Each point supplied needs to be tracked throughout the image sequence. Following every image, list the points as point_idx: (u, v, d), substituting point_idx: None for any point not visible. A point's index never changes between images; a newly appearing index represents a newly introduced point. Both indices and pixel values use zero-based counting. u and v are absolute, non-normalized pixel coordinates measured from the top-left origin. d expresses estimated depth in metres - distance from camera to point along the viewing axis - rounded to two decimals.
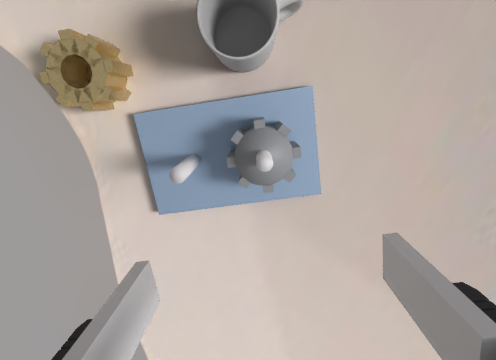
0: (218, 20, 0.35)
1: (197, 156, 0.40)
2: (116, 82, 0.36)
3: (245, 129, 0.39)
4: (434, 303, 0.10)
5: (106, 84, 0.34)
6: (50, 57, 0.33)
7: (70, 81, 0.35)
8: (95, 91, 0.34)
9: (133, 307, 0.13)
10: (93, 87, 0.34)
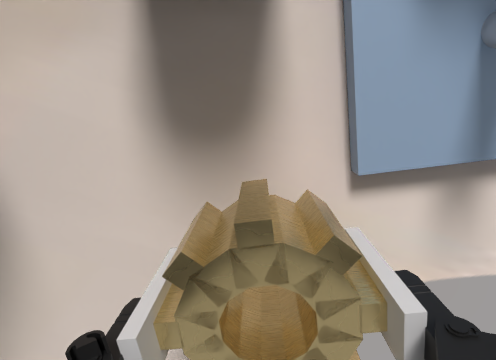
0: None
1: None
2: (291, 219, 0.13)
3: None
4: None
5: (309, 249, 0.10)
6: None
7: (289, 338, 0.13)
8: (331, 285, 0.10)
9: None
10: (318, 289, 0.10)
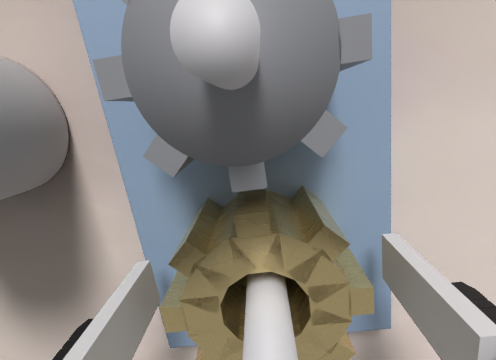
0: None
1: None
2: (287, 213, 0.14)
3: None
4: (433, 303, 0.10)
5: (302, 238, 0.11)
6: None
7: None
8: (322, 272, 0.11)
9: (134, 307, 0.13)
10: (310, 275, 0.11)
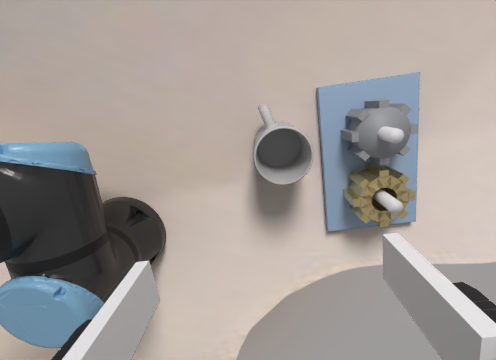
0: (266, 164, 0.47)
1: None
2: None
3: (349, 144, 0.46)
4: (434, 303, 0.10)
5: (396, 178, 0.42)
6: (371, 216, 0.43)
7: None
8: (401, 187, 0.42)
9: (133, 307, 0.13)
10: (398, 188, 0.42)
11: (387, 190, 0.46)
